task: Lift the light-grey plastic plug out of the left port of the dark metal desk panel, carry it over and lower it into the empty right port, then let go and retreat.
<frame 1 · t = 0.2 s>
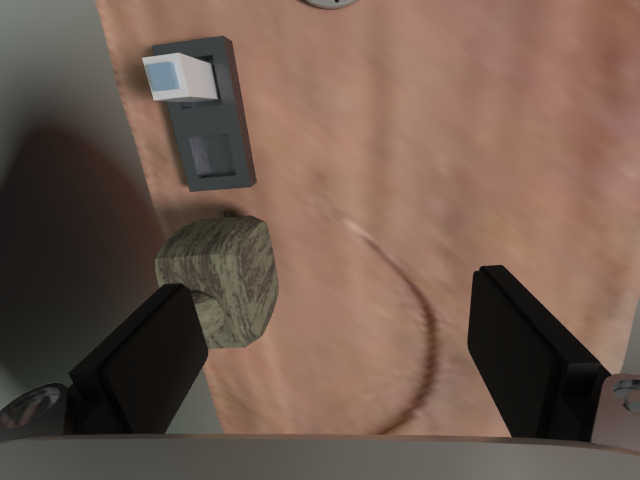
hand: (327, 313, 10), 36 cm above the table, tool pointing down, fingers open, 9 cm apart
tabletop clock: (252, 244, 50), on the table
plug: (203, 84, 40), point 1 cm above the table, touching panel
panel: (214, 120, 43), on the table
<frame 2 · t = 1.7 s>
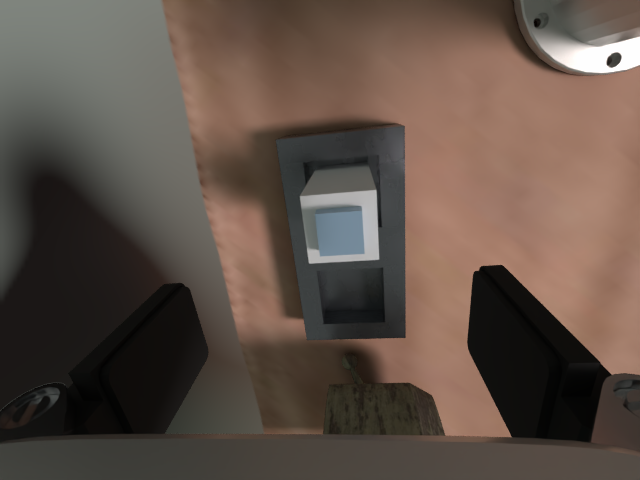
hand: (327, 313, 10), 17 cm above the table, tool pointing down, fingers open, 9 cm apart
tabletop clock: (378, 389, 35), on the table
plug: (344, 189, 25), point 1 cm above the table, touching panel
panel: (348, 235, 28), on the table
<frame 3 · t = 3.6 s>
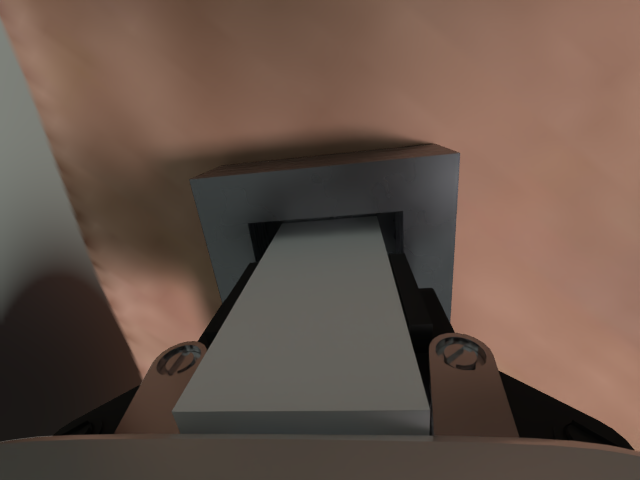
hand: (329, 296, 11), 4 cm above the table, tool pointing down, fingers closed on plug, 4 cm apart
plug: (333, 262, 14), point 1 cm above the table, touching gripper, panel
panel: (341, 329, 16), on the table
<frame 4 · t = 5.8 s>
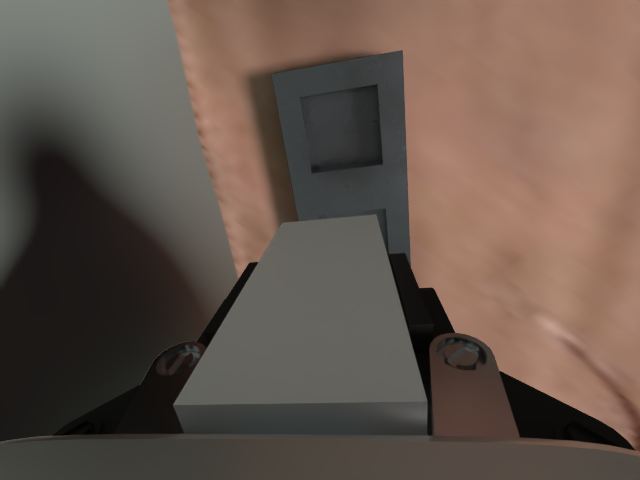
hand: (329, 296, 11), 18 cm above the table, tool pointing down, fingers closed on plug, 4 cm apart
plug: (333, 261, 14), point 15 cm above the table, touching gripper
panel: (349, 182, 27), on the table
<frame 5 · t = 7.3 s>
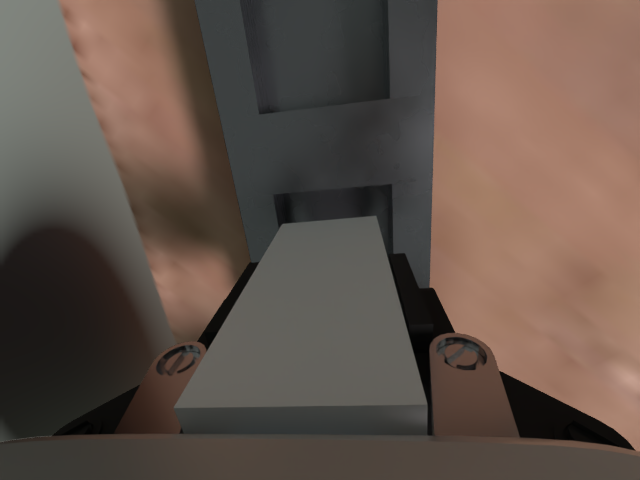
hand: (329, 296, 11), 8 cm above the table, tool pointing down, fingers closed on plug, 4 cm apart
plug: (333, 262, 14), point 5 cm above the table, touching gripper
panel: (330, 143, 16), on the table
when the fingers open (4 cm above the table, at t = 8.3 s): plug stays where it is, resting on panel.
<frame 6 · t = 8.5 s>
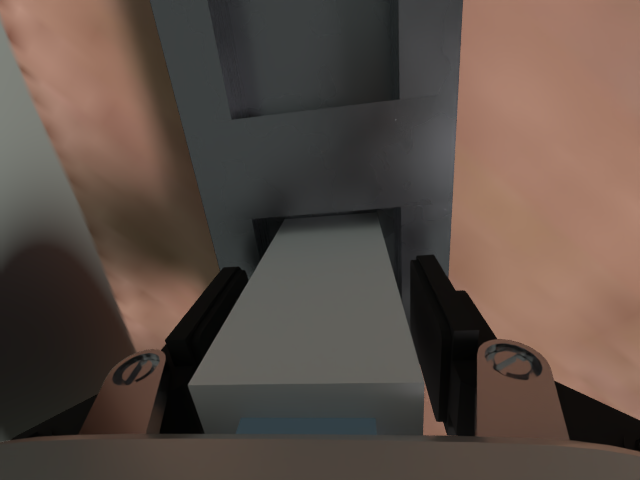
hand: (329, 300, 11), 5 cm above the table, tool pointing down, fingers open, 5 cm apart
plug: (333, 257, 14), point 1 cm above the table, touching panel
panel: (324, 153, 13), on the table
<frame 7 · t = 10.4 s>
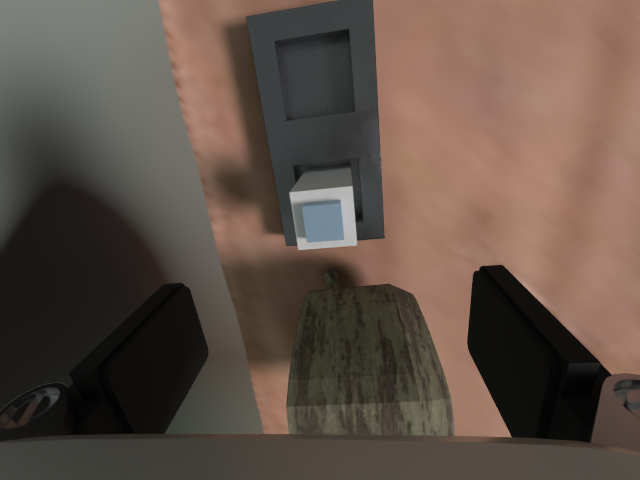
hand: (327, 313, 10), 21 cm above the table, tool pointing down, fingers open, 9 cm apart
tabletop clock: (362, 312, 35), on the table
plug: (330, 189, 28), point 1 cm above the table, touching panel
panel: (325, 137, 28), on the table
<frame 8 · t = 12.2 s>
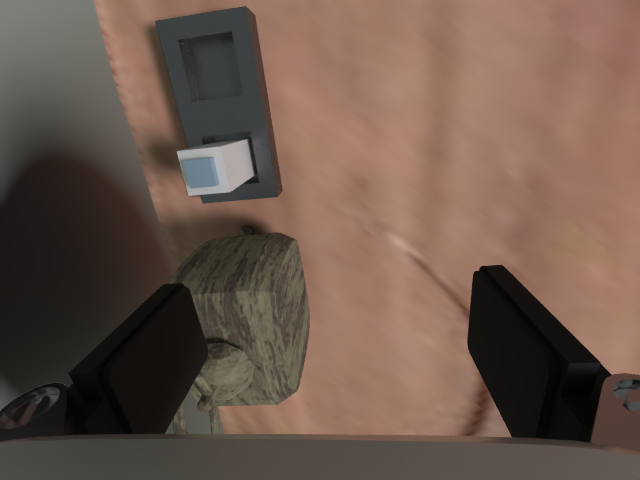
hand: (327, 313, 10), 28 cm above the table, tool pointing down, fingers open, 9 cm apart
tabletop clock: (276, 263, 42), on the table
plug: (237, 158, 36), point 1 cm above the table, touching panel
panel: (231, 116, 35), on the table
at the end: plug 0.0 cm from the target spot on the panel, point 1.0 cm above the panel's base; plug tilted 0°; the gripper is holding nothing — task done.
